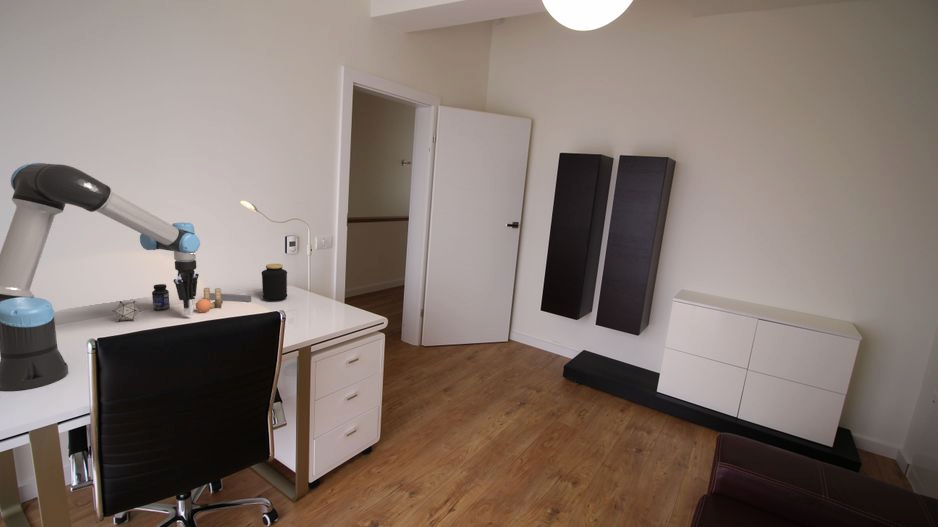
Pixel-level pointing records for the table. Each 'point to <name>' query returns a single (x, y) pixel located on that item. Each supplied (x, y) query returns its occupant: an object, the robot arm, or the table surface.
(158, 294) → the pill bottle
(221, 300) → the pin front
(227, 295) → the back wall
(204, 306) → the ball
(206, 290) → the pin
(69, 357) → the table surface
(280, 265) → the container
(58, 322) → the table surface
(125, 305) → the game die
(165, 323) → the table surface
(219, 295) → the pin
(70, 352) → the table surface
